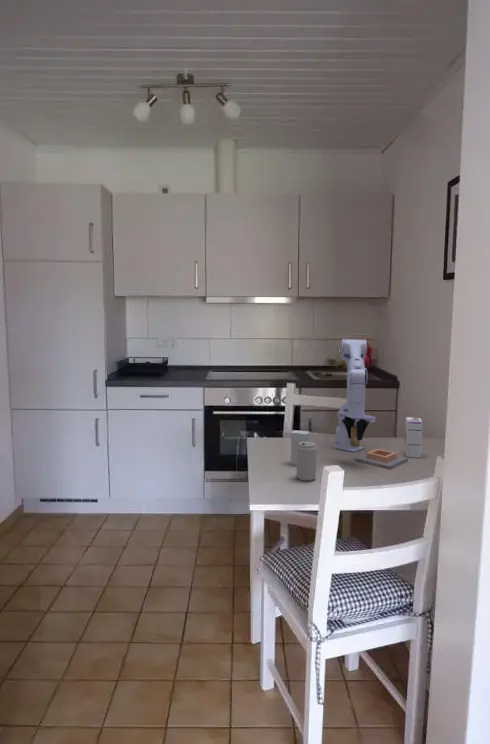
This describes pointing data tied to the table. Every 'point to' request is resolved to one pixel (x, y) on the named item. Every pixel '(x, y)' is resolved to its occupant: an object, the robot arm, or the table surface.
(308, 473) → the beverage can
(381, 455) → the collar stand
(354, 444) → the wood peg
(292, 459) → the skincare box
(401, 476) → the table surface
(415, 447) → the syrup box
